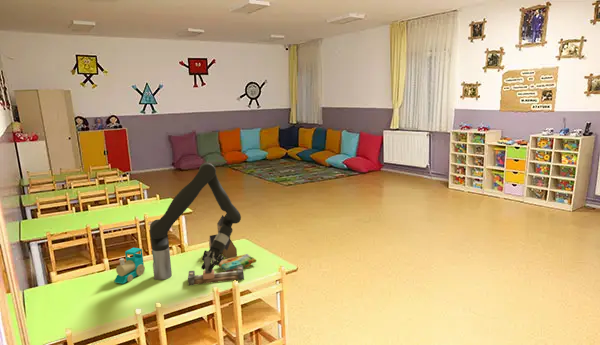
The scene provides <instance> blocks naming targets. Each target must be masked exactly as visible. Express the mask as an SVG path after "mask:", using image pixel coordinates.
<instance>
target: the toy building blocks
mask: <svg viewBox="0 0 600 345" xmlns="http://www.w3.org/2000/svg"><path fill="white" fill-rule="evenodd" d="M224 216H225V215H221V217H220V219H219V220H218V222H217V223H216V224H217V225H216V226H217V233H216V234H211V235H209V239H208V240H209V241H208V242H209V243H208V245H209V247H208V248H209V250H210V249H211V245H212V243H213V241H214V239H215V237H216V235H217V234H218V232H219V230H220V228H221V227H222V222H223V219H224ZM237 250H238V249H237V247H236V246H235V245H234V242H233V241H232V240H231V236H230V237H229V240H228V242H227V244H226V246H225V248H224V250H223V252H222V253H221V255H222V256H224V258H225V259H228V258H233V257H237V256H238V251H237Z"/></svg>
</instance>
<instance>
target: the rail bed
mask: <svg viewBox="0 0 600 345" xmlns="http://www.w3.org/2000/svg"><path fill="white" fill-rule="evenodd" d="M237 269H238V270H235V271H231V272H225V271H224V272H214V278H213V279H204V280H203V274H196V273H195V270H189V271H188V275H187V282H188V283H187V284H188V286H195V285H203V283H204V284H211V282H213V283H219V282H218V281H222V282H230V281H237V280H236V279H239V280H238V281H241V280H242V279H243V280H245V276H244V275H245V274H244V273H245V272H244V268H243V265H240V266H237ZM243 280H242V281H243Z"/></svg>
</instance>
